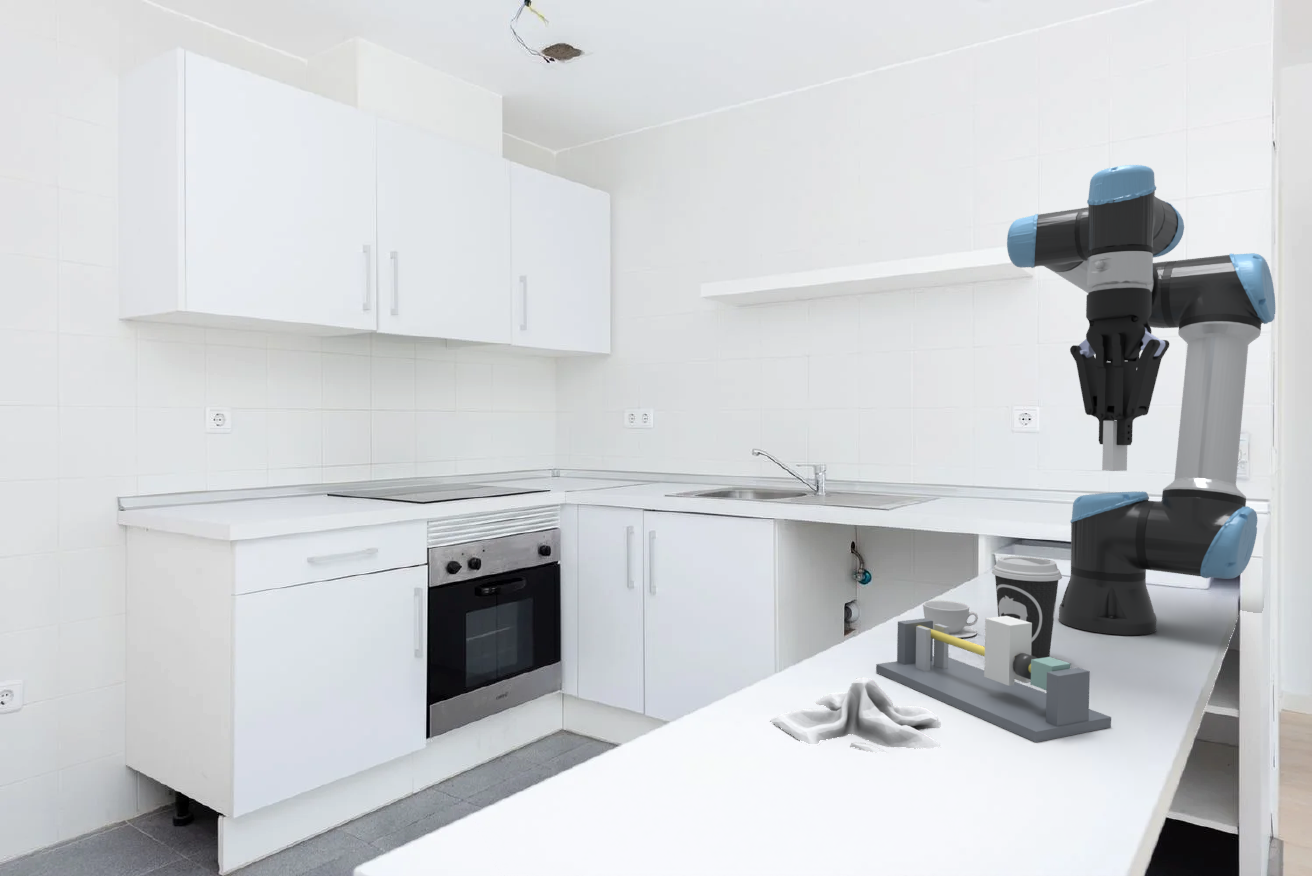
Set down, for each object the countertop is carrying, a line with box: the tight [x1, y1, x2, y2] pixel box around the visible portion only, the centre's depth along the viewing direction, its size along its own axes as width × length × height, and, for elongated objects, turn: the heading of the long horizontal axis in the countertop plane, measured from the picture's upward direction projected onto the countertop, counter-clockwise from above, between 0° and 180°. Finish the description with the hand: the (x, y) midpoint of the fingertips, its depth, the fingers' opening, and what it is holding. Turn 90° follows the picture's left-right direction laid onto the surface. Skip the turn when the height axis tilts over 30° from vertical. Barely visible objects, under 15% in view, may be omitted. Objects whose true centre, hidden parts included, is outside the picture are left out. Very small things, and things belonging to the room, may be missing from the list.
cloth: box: [769, 676, 942, 754], centre depth 101 cm, size 22×19×6 cm
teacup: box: [922, 599, 979, 639], centre depth 146 cm, size 10×10×5 cm
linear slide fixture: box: [875, 617, 1112, 743], centre depth 112 cm, size 28×12×8 cm, turn 24°
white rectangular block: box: [983, 616, 1032, 686], centre depth 108 cm, size 4×4×7 cm
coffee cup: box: [991, 555, 1063, 659], centre depth 128 cm, size 10×10×15 cm
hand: (1114, 470), depth 114 cm, fingers closed
